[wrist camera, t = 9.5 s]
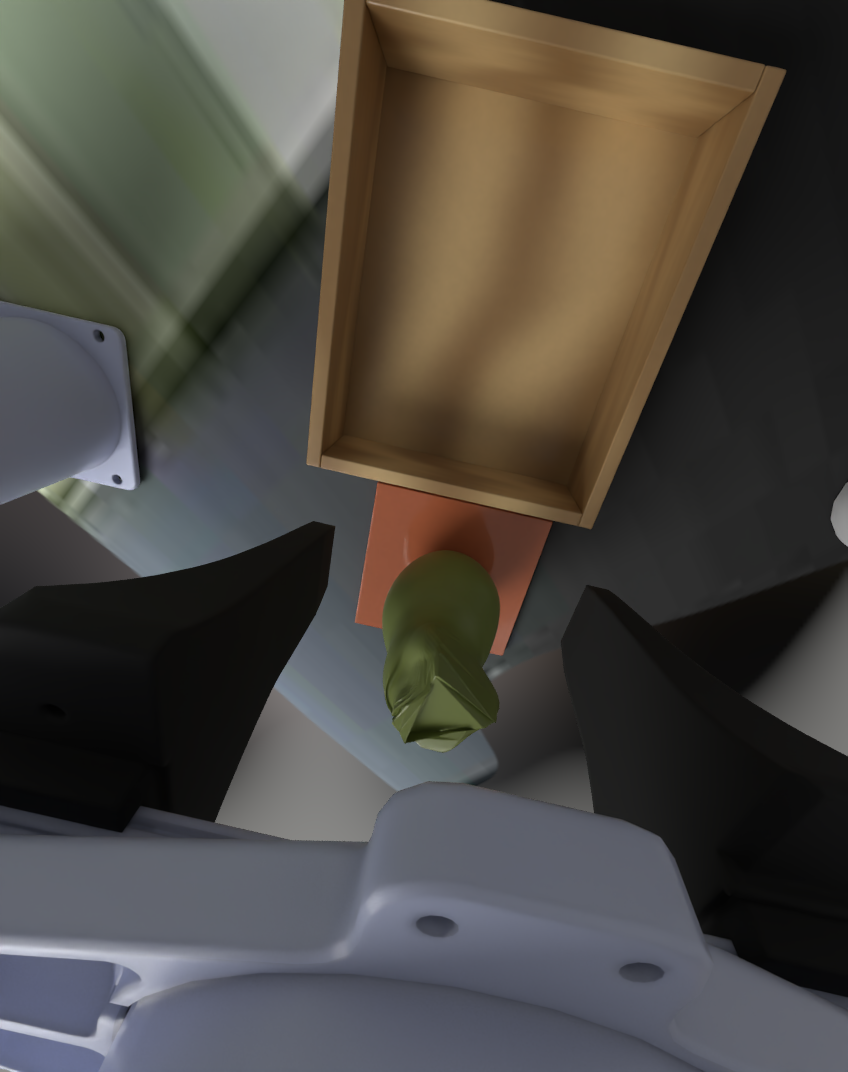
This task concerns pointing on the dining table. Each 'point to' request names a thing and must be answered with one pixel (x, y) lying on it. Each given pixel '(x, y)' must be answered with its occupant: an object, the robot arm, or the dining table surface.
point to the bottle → (841, 515)
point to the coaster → (449, 547)
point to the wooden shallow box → (513, 243)
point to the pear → (440, 649)
